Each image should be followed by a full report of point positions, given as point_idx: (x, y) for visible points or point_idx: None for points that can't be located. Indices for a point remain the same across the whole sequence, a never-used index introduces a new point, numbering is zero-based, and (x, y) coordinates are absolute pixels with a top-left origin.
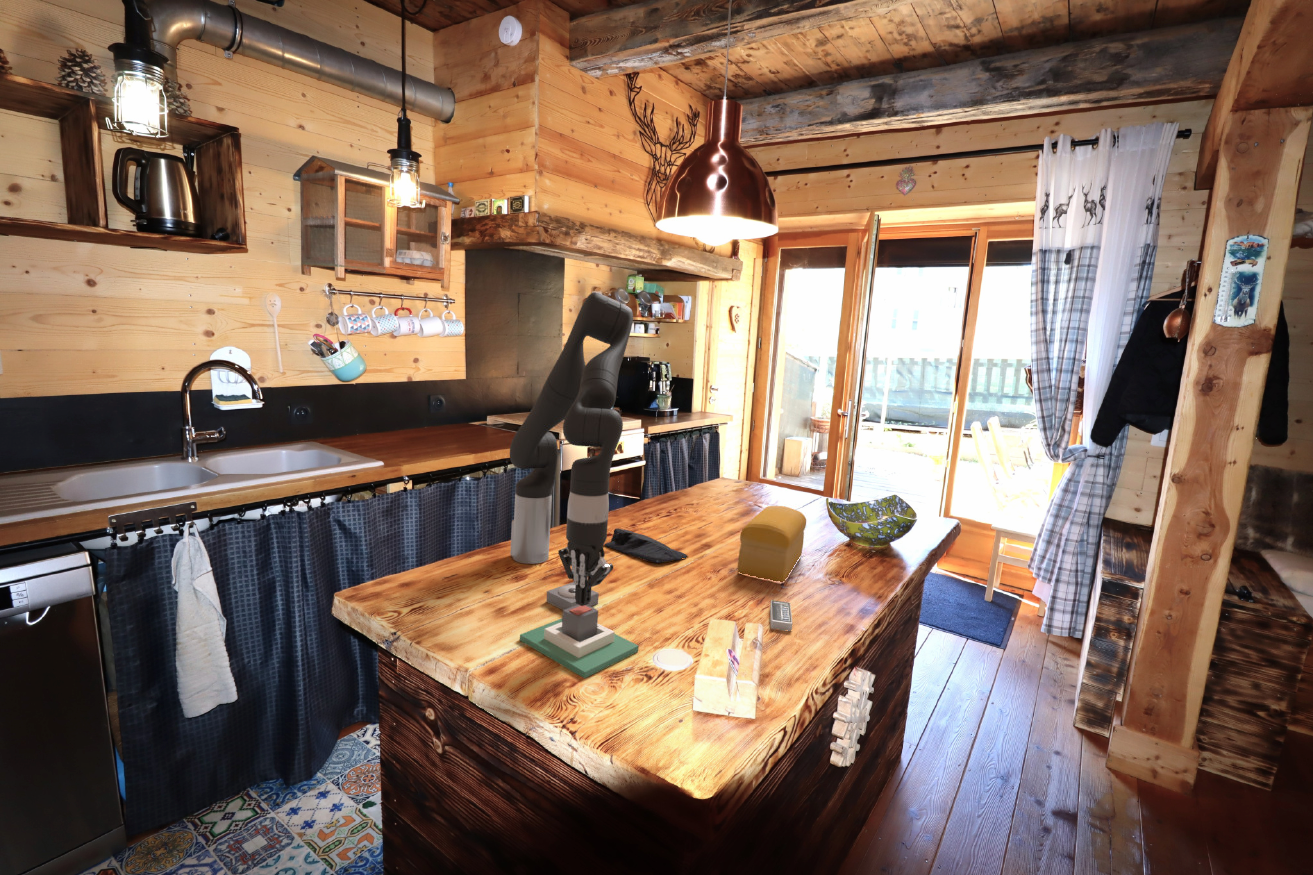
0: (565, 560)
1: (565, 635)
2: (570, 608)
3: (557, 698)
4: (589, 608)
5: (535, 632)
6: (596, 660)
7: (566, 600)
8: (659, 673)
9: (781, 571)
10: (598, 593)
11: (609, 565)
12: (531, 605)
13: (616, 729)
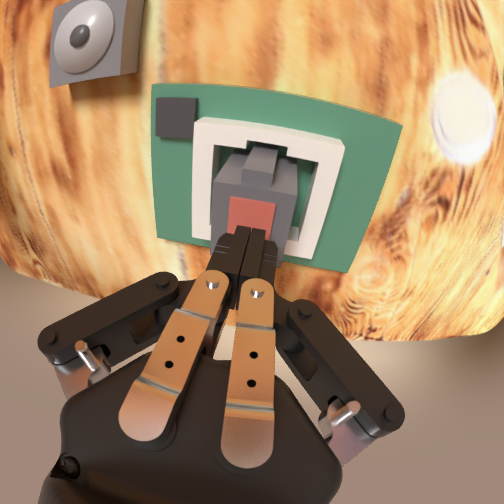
0: (116, 362)
1: None
2: (216, 235)
3: (334, 313)
4: (266, 208)
5: (168, 215)
6: (347, 233)
7: (102, 77)
8: (458, 183)
9: None
10: None
11: (386, 434)
12: (65, 118)
13: (422, 318)
